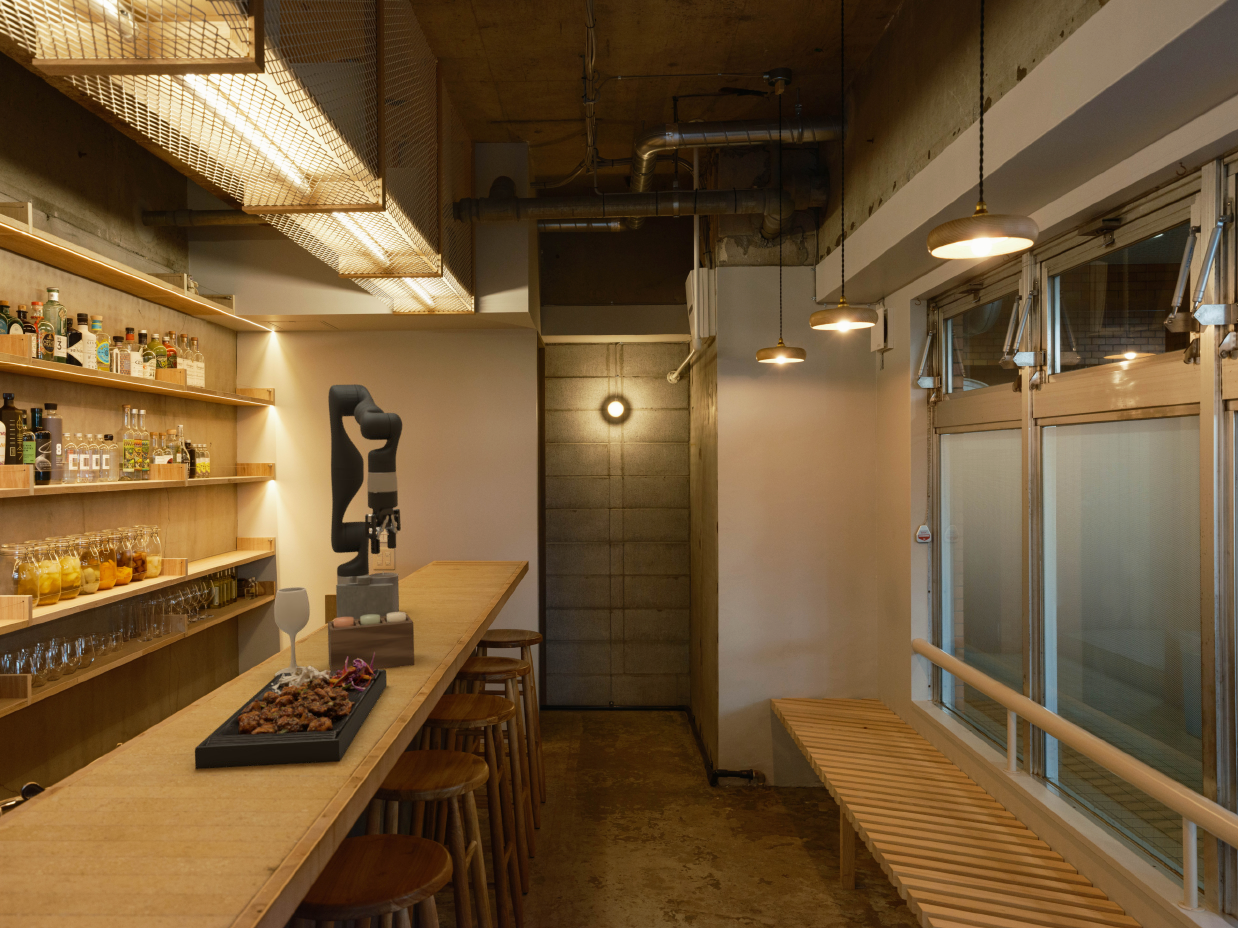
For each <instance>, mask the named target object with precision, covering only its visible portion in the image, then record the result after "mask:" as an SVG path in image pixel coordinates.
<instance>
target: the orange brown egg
mask: <svg viewBox="0 0 1238 928" xmlns="http://www.w3.org/2000/svg"><path fill="white" fill-rule="evenodd" d="M333 621H334V628H338V627H348V626H354V618H353V617H338V618H337V617H335V618H333Z"/></svg>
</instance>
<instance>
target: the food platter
mask: <svg viewBox="0 0 1238 928" xmlns="http://www.w3.org/2000/svg"><path fill="white" fill-rule="evenodd" d="M374 655H375V652H374ZM374 655H373V659H372V662H371V664H370V665H367V664H366V663H365V662H364V661H363V660H361V659H359V658H357V659H356V660H354V661H353V664H354V665H353V666H354V667H352V666H351V667H349V668H347V664H348V656H347V659H346V661H345V665H344V670H342V671H340V670H338V671H330V670H328V669H325V670H323V671H319V670H318V669H317V668H315V667H313V666H311V665H308V666H302V667H296V671H295V672H294V673H285V672H283V673H281V674H278V675H277V676H274V677H273V678H272V679H271V680H270V681H269V682H268V683H267V684H265V686H263V687H262V688H261V689H260V690H259V691H257V693H255V694H254V695H253V696H252V697H251V698H250V699H249V700H247V701H246V702H245V703H244V704H243V705H242V706H241V707H240V708H239V709H237V710H236V711H235V712H234V713H233V714H232V715H231V716H229V718H227V719H226V720H225V721H223V723H222V724H220V725H219V727H217V728H216V729H215V730H214V731H212V733H210V735H208V736H207V737H206V738H205V739H203V741H202V742H200V743H199V744H198V745H197V746H196V747H195V749H194V767H195V770H205V769H222V768H223V769H224V768H225V769H226V768H228V769H229V768H242V767H243V768H246V767H264V766H281V765H282V766H283V765H301V764H302V765H303V764H317V763H318V764H319V763H320V764H321V763H337V762H338V763H339V762H340V761H341V760H342V759H343V757H344V756H345V753H346V752H347V751H348V749H349V748H350V746H351V744H352V743H353V741H354V740H355V738H356V737H357V735H358V733H359V731H360V730H361V728H362V726H363V725H364V723H365V722H366V720H367V718H368V717H369V715H370V714H371V712H372V710H373V709H374V707H375V706H376V705H377V702H378V701H377V700H379V699H380V698H379V697H381V696H380V695H382V694H383V693H384V691H385V689H386V688H387V685H388V684H387V670H386V669H373V665H374V664H373V660H374ZM307 667H308V668H307ZM372 708H373V709H372ZM369 713H370V714H369Z"/></svg>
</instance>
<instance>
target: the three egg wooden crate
mask: <svg viewBox="0 0 1238 928" xmlns="http://www.w3.org/2000/svg"><path fill="white" fill-rule="evenodd" d="M414 628H415V627H414V621H413V619H412V618H410V616H409V614H407V613H406V621H399V622H389V623H387V616H382V617H380V623H378V624H368V625H361V620H360V619H354V626H348V627H338V628H334V620H332V621H327V640H328V641H327V642H328V643H327V644H328V648H327V649H328V666H329V667H328V668H329V671H338V670H340V671H342V670H344V665H345V661H346V659H347V656H348V664H347V668H349V667H351V666H352V667H354V666H353V665H354V664H353V661H354V660H356V659H357V658H359V659H361V660H363V661H364V662H365V663H366V664H367V665H370V664H371V662H372V659H373V655H374V652H375V655H374V660H373V664H374V665H373V669H378V670H385V669H389V668H390V669H391V668H393V669H394V668H400V666H402V667H410V666H415V640H414V639H415V636H414V634H415V633H414V631H415V630H414ZM409 665H410V666H409ZM384 668H385V669H384Z"/></svg>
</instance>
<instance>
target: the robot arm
mask: <svg viewBox="0 0 1238 928" xmlns="http://www.w3.org/2000/svg"><path fill="white" fill-rule="evenodd" d="M327 400H328V413H329V425H330V426H329V427H330V441H331V442H330V449H331V450H330V480H331V498H332V499H331V502H332V506H331V507H332V508H331V529H330V530H331V531H330V532H331V533H330V538H331V539H330V543H331V549H332V551H333V552H334V553H335V554H336V553H337V554H343V553H344V554H345V553H346V554H347V553H357V555H356V556H355V557H353V558H352V559H350V560H349V561H347V562H344V563H342V564H339V565H338V566H337V567H336V578H337V579H336V581H337V583H336V585H338V584H348V583H357V582H358V580H357V577H358V576H369V575H370V567H369V561H370V560H369V551H370V553H371V554H372V555H379V554H380V553H381V539H380V537H381V536H382V533H383V532H384V530H385V531H386V534H387V535H386V536H387V538H386V540H387V541H386V542H387V543H386V545H387V548H388V549H390V550H393V549H394V550H395V549H396V548H397V534H398V532H399V531H400V532H401V528H402V527H401V511H400V508H397V507H398V505H399V503H398V500H399V499H398V497H399V496H398V475H397V451H398V446H399V442H400V439H401V435H402V430H403V421H402V419H401V416H400V415H398V414H397V413H395V412H385V411H384V410H383V409H382V408H381V407H380V406H378V405H377V404H376V403H375V401H374V399H373V396H372V395H371V393H370V391H369V389H368V388H367V387H366V386H364V385H362V384H357V383H355V384H333V385H331V386H330V388H329V390H328V399H327ZM343 417H354V419H355V421H356V423H357V424H358V425H359V428H360V429H359V430H360V434H361V436H362V437H363V438H364V439H365V440H368V441H383V440H385V441H386V443H385V444H384V445H383V446H382V447H380V448H374V449H372V450H370V451H369V452H368V453H367V481H366V482H367V483H366V484H367V508H370V509H372V513H368V514H367V513H366V514H365V516H364V519H365V521H348V522H347V521H344V517H345V513H346V511H347V509H348V507H349V505H350V504H351V502H352V501H353V500H354V498H355V497H356V496H357V493H358V492H359V490H360V489H361V487H362V486H363V483H364V480H365V476H364V475H365V466H364V465H365V463H364V462H365V461H364V458H363V455H362V454H361V452H360V451H359V449H358V448H357V446H356V445H355V443H354V442H353V441H352V439H351V438H350V436H349V435H348V433H347V431H346V428H345V426H344V422H343ZM343 521H344V522H343ZM369 547H370V548H369ZM369 549H370V550H369Z"/></svg>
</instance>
